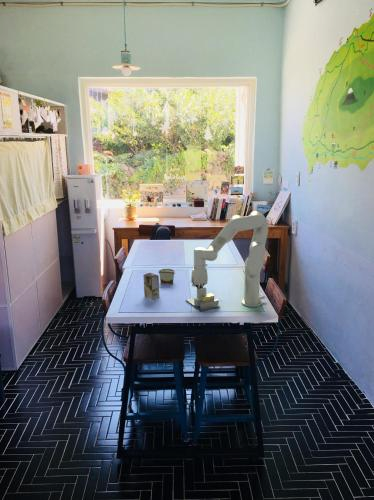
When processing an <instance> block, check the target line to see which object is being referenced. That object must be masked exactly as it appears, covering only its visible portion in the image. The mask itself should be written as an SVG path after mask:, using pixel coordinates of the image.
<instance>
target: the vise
mask: <svg viewBox="0 0 374 500" xmlns="http://www.w3.org/2000/svg"><path fill="white" fill-rule="evenodd" d="M194 298H197V296H196V297H191V298H187V299H185V302H187V304H189V305H190V306H192V307H194V308H195V309H196V310H198V311H199V312H200V313H201V312H205V311H210V310H213V309H217V308H219V309H220V308H221V306H220V304H219V301H220V300H219V299H214V300H211V301H207V302H202V303H200V306H196V305H195V304H194Z"/></svg>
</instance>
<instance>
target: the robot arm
mask: <svg viewBox="0 0 374 500" xmlns="http://www.w3.org/2000/svg"><path fill="white" fill-rule="evenodd" d="M249 230H250V231H252V230H253V234H252V238H251V241H250V245H249V253H248V257H246V259H245V261H244V291H243V293H244V296H243V299H242V300H241V304H242V305H243V306H245V307H249V308H257V307H259V306H261V305H262V300H265V299H266V296H265V295H260V287H261V286H260V282H261V271H262V269H263V265H264V261H265V258H266V252H267V250H266V242H267V239H268V233H269V223H268V221H267V218H266V217H265V215H264V214H263V213H262V212H260V211H259V210H258V211H257V210H253V211H251V212H250V214H249V215H246V216H241V215H239V214H234V215H233V216H232V217H230V219H229V220H228V221H227V223H226V224H225V225H224V227H223V228H222V229H220V232H219V233H218V234H217V235H216V237H214V239H212V241H211V242H210V243H209V245H208V246H207V248H205V247H202V246H201V247H198V246H197V247H195V248H194V249H193V268H192V271H191V278H190V281H191V286H192V287H193V288H194V287H195V288H196V290H197V289H200V288H204V287H205V286H206V285H207V284H208V281H209V278H208V270H207V266H208V264H207V263H206V261H209V262H214V261H216V260H217V258H218V254H219V252H220V251H221V250H222V248H223V247H225V245H226V244H227V243H229V242H231V241H233V238H234V237H235V236H236V234H238V232H244V231H249Z"/></svg>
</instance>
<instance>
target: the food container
mask: <svg viewBox="0 0 374 500" xmlns="http://www.w3.org/2000/svg"><path fill="white" fill-rule="evenodd" d="M175 274H176V272H175V270H174V269H172V268H162V269H159V270H158V275H159V279H160V284H162V285H173V284H174V277H175Z"/></svg>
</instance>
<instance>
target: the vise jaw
mask: <svg viewBox="0 0 374 500" xmlns="http://www.w3.org/2000/svg"><path fill="white" fill-rule="evenodd" d="M206 294H207V288H206V287H203V288H200V289H197V288H196V297H197V298H195V297H193V298H194V304H195V305H196V306H200V296H201V295H206Z"/></svg>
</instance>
